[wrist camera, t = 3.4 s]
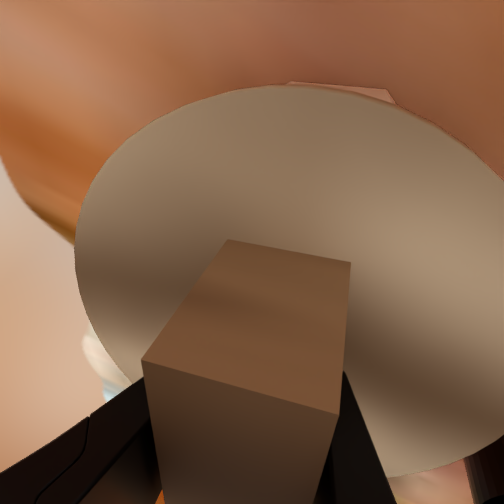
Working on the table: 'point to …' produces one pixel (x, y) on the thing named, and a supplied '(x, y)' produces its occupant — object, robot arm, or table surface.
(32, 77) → the table surface
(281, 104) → the lid
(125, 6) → the table surface
